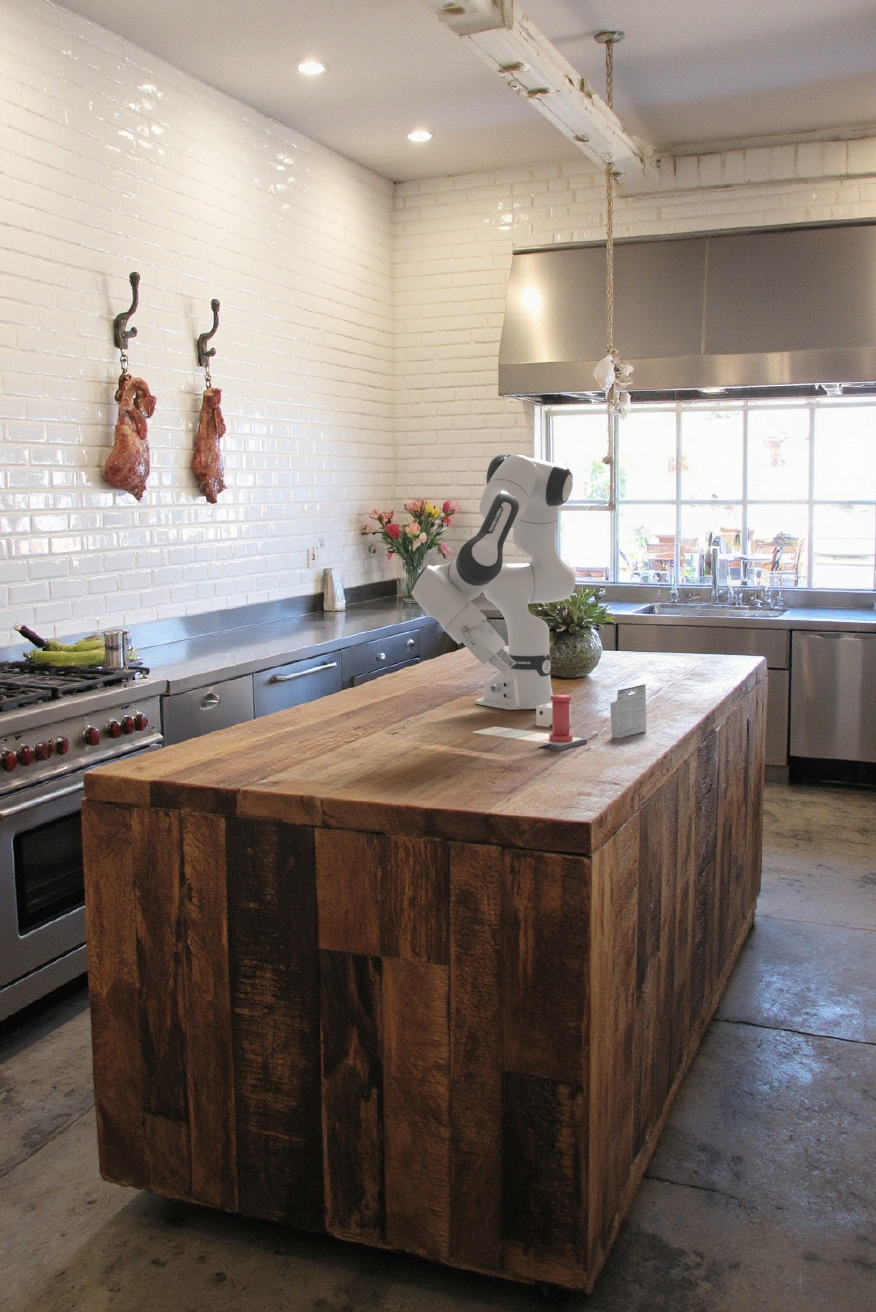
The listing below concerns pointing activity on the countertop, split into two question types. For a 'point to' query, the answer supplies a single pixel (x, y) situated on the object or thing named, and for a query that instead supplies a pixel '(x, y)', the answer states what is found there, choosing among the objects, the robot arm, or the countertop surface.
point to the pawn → (560, 719)
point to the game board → (532, 737)
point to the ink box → (629, 712)
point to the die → (546, 715)
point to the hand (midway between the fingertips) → (510, 668)
